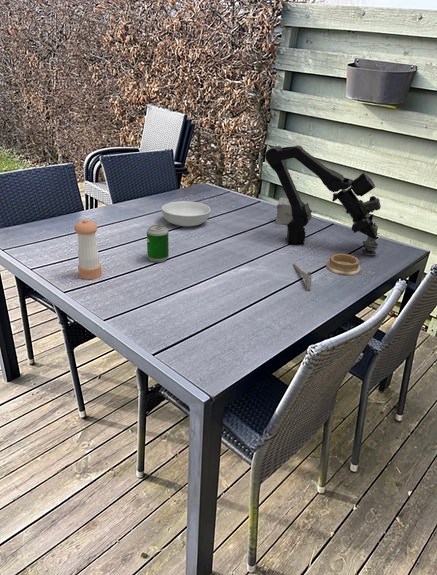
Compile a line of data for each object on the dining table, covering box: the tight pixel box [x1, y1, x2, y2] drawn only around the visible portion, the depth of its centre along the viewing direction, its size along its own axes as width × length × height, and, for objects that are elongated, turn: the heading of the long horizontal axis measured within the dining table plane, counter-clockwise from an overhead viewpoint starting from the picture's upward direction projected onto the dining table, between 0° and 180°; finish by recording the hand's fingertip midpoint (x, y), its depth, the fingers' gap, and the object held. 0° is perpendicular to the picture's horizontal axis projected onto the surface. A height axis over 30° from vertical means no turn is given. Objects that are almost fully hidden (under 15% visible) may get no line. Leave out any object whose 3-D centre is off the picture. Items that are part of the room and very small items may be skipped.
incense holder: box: [275, 197, 293, 225], centre depth 210 cm, size 10×8×10 cm
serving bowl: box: [161, 200, 212, 227], centre depth 205 cm, size 21×21×7 cm
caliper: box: [292, 262, 312, 291], centre depth 161 cm, size 20×1×6 cm, turn 5°
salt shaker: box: [361, 222, 379, 256], centre depth 179 cm, size 6×6×12 cm
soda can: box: [146, 224, 170, 263], centre depth 169 cm, size 8×8×12 cm
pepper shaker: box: [74, 218, 102, 280], centre depth 153 cm, size 7×7×19 cm
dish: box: [325, 253, 362, 277], centre depth 170 cm, size 12×12×4 cm
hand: (376, 236), depth 178 cm, fingers closed on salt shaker, 4 cm apart
